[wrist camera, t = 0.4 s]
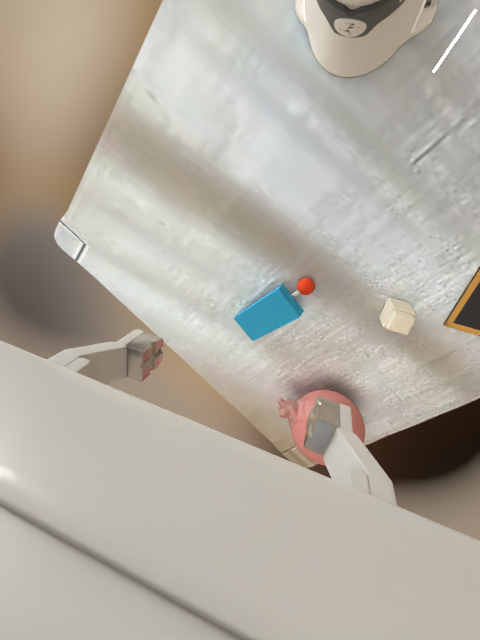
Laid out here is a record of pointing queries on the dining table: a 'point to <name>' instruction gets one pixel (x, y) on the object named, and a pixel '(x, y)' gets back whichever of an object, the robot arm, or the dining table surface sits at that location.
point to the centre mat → (467, 309)
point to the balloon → (300, 411)
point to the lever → (273, 310)
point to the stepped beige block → (397, 316)
